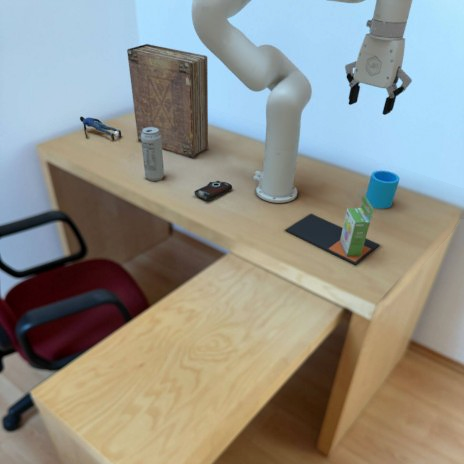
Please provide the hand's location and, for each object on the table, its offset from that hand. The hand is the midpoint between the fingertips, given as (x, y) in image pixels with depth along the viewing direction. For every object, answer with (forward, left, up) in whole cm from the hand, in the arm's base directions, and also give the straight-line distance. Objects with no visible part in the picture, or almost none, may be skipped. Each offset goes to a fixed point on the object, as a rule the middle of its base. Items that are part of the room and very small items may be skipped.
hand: (369, 108), depth 111 cm
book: (-69, -7, -28) cm, 75 cm away
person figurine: (-95, -20, -28) cm, 101 cm away
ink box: (+12, -18, -28) cm, 36 cm away
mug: (+4, +12, -28) cm, 31 cm away
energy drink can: (-54, -28, -28) cm, 67 cm away
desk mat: (+6, -17, -28) cm, 34 cm away
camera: (-34, -22, -28) cm, 49 cm away
